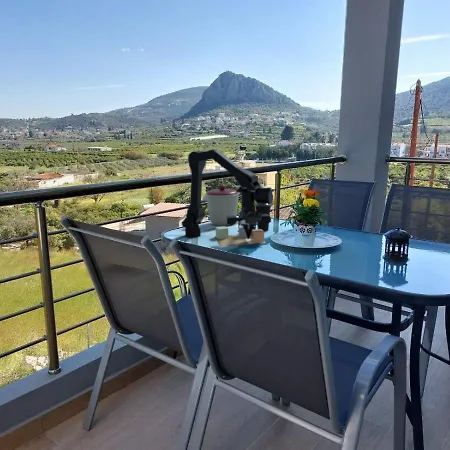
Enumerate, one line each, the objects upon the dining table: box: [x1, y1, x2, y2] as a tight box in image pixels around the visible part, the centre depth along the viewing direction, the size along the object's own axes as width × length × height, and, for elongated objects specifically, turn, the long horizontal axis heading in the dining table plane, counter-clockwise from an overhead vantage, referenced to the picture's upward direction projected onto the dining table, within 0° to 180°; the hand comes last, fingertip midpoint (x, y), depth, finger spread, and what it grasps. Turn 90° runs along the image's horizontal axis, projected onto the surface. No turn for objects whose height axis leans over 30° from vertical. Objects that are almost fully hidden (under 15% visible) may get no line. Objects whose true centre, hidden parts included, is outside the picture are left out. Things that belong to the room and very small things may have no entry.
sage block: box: [215, 226, 229, 239], centre depth 181 cm, size 4×4×4 cm
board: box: [214, 233, 267, 247], centre depth 178 cm, size 20×17×1 cm
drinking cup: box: [255, 202, 272, 232], centre depth 191 cm, size 8×8×20 cm
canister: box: [204, 183, 241, 227], centre depth 212 cm, size 18×18×21 cm
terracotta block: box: [251, 228, 265, 242], centre depth 174 cm, size 4×4×4 cm
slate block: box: [238, 224, 247, 238], centre depth 183 cm, size 4×4×4 cm
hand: (248, 238), depth 174 cm, fingers closed
